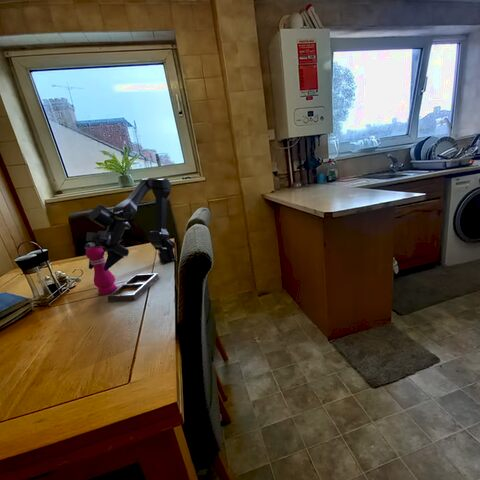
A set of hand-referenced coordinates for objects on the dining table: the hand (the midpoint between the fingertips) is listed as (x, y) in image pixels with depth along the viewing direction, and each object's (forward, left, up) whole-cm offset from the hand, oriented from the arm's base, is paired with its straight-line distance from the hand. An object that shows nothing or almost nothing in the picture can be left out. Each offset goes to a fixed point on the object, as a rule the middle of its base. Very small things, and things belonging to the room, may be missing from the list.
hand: (97, 269), depth 105 cm
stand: (-10, +6, -10) cm, 15 cm away
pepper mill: (-1, -1, -10) cm, 10 cm away
